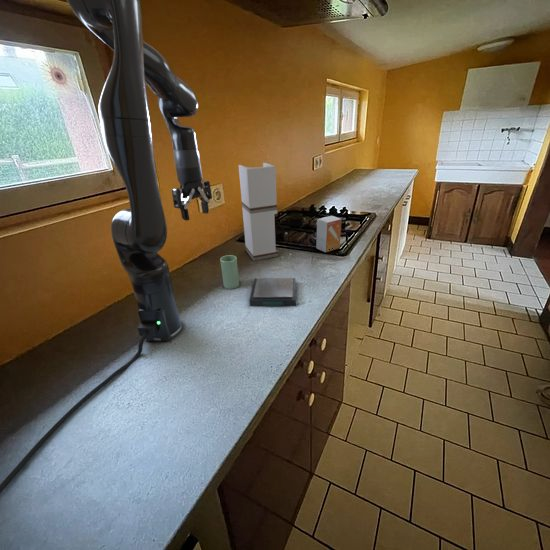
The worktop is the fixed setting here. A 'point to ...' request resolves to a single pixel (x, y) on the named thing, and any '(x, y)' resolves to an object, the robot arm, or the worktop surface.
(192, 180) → the robot arm
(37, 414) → the worktop surface
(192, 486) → the worktop surface
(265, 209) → the tall white tower
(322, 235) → the small box
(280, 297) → the scale
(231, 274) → the cup
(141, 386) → the worktop surface
